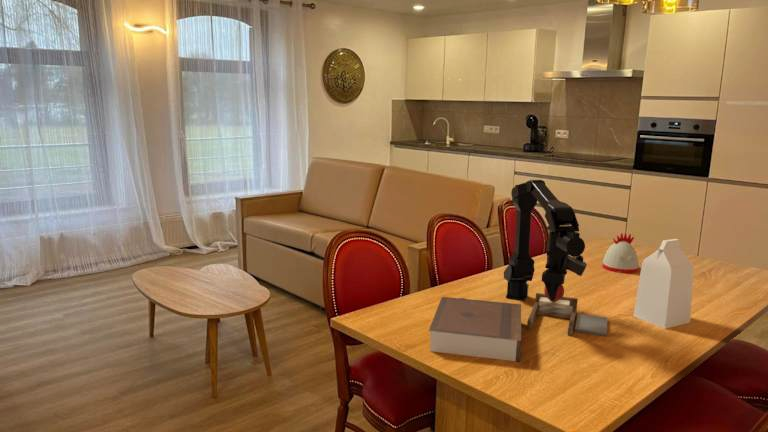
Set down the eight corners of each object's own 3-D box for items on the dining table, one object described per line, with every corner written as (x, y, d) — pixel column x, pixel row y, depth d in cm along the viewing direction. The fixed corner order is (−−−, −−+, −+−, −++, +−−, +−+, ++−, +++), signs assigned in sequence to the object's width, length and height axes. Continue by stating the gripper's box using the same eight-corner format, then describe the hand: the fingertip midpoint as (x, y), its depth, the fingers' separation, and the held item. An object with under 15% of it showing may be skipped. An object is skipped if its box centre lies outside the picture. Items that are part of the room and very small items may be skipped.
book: (519, 324, 179) (521, 304, 178) (519, 364, 152) (521, 340, 151) (441, 316, 184) (442, 296, 183) (427, 353, 157) (428, 330, 156)
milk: (664, 328, 176) (675, 246, 171) (633, 316, 186) (642, 237, 181) (690, 322, 182) (700, 242, 177) (658, 310, 192) (667, 234, 187)
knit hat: (643, 273, 233) (648, 237, 230) (609, 273, 233) (613, 236, 230) (629, 264, 246) (633, 229, 243) (597, 263, 246) (600, 229, 243)
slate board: (574, 331, 173) (574, 328, 173) (577, 315, 186) (577, 313, 186) (606, 336, 170) (606, 333, 170) (607, 319, 183) (607, 317, 182)
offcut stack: (536, 313, 186) (537, 300, 185) (537, 309, 190) (538, 296, 189) (571, 319, 182) (572, 305, 182) (572, 314, 186) (573, 301, 186)
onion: (540, 299, 178) (542, 274, 177) (558, 299, 179) (560, 274, 177) (547, 306, 173) (549, 280, 171) (566, 305, 173) (568, 280, 172)
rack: (526, 328, 174) (528, 313, 173) (535, 307, 192) (536, 292, 191) (571, 336, 169) (573, 319, 168) (576, 313, 188) (577, 298, 187)
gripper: (584, 258, 161) (579, 311, 164) (587, 243, 178) (583, 291, 181) (543, 254, 165) (539, 305, 168) (550, 239, 182) (546, 287, 185)
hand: (553, 297), depth 175 cm, fingers closed on onion, 6 cm apart
